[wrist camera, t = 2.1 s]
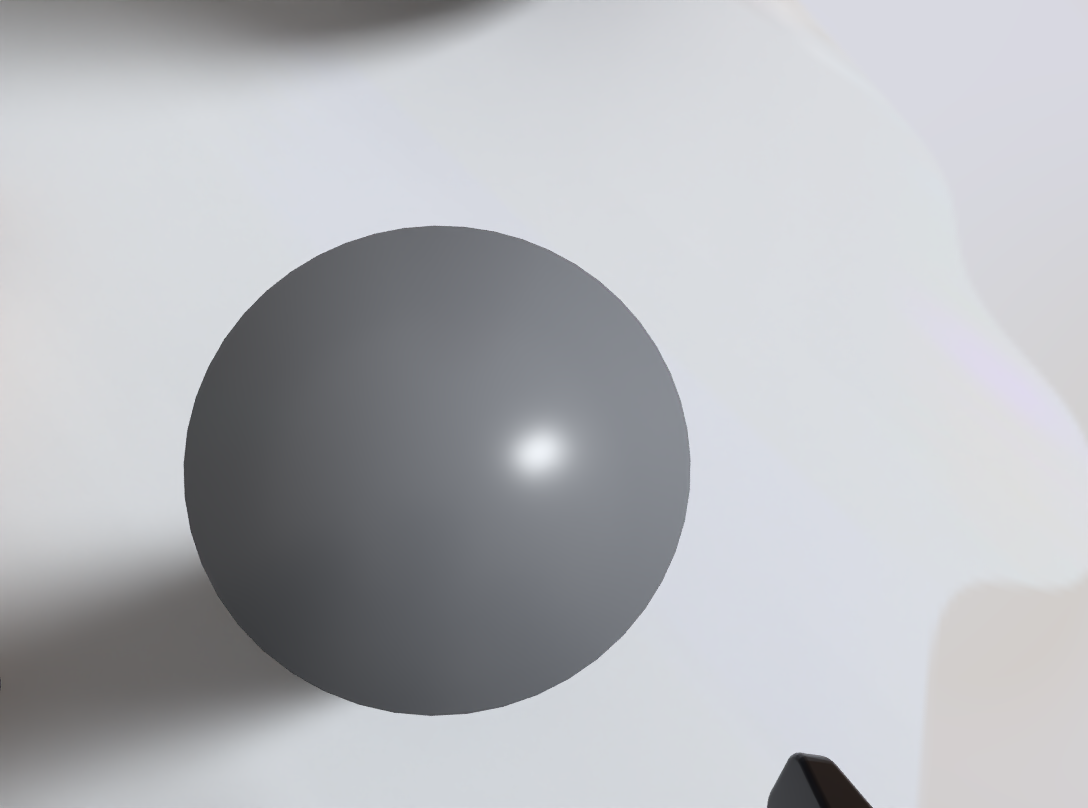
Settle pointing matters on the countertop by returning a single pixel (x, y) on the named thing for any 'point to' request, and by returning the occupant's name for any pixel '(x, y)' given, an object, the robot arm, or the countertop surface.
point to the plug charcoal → (437, 470)
